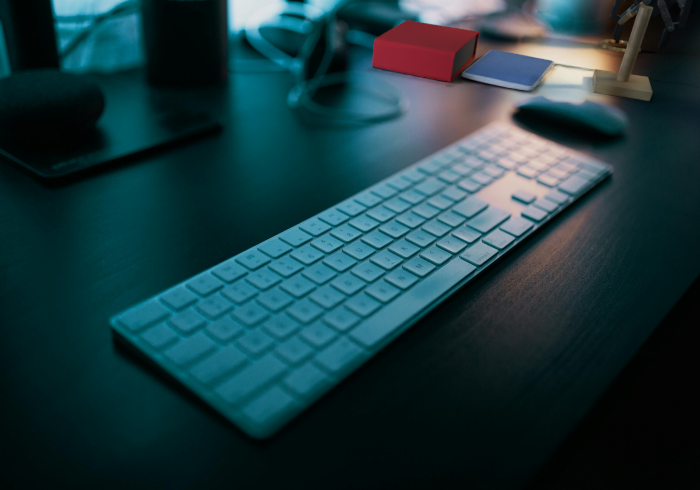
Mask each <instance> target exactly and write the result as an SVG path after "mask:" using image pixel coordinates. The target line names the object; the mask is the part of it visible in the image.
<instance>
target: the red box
mask: <svg viewBox="0 0 700 490" xmlns="http://www.w3.org/2000/svg"><path fill="white" fill-rule="evenodd" d="M479 37H480V31H478V30H477V31H476V30H471V29H465V28H459V27H452V26H444V25H439V24H433V23H427V22H421V21H415V20H409V19H406V20H404V21H403V22H401V23H400V24H397V25H396V26H394V27H392V28H391V29H389V30H387V31H386V32H384V33H382V34H381V35H379V36H377V37H375V39H374V41H373V50H372V62H371V64H372V65H371V67H372V68H375V69H380V70H386V71H390V72H395V73H401V74H406V75H410V76H416V77H422V78H427V79H432V80H437V81H442V82H448V83H452V82H453V81H454V80H455V79H456V78H457V77H458V76H459V75H460V74H462V72H463V71H464V70H465V69H466V67H467V66H469V65H470V64H471V62H472V61H473V60H475V58H476V54H477V49H478V42H479Z"/></svg>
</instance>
